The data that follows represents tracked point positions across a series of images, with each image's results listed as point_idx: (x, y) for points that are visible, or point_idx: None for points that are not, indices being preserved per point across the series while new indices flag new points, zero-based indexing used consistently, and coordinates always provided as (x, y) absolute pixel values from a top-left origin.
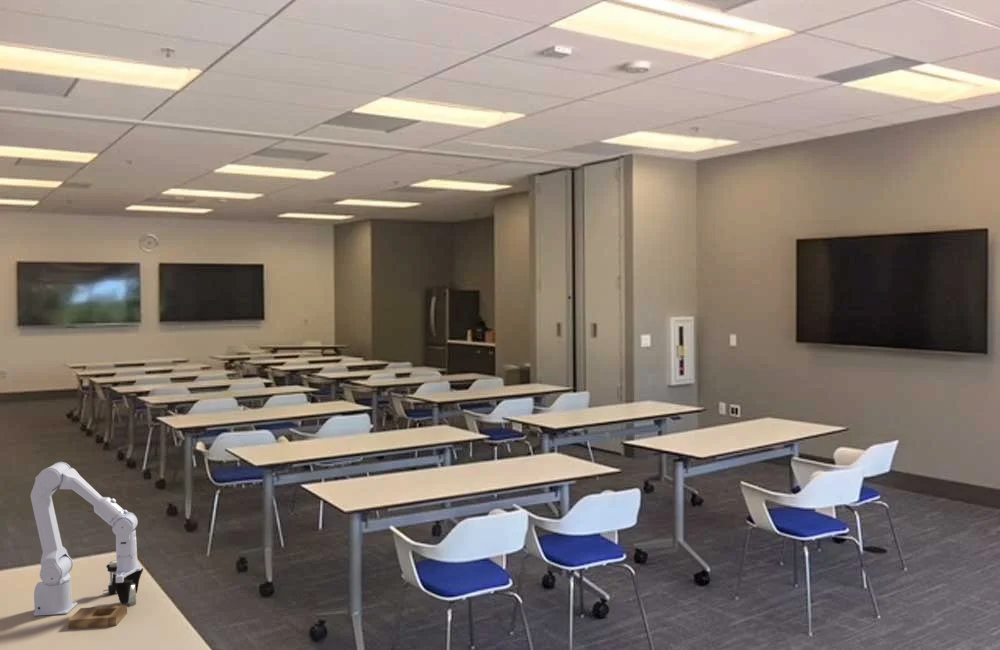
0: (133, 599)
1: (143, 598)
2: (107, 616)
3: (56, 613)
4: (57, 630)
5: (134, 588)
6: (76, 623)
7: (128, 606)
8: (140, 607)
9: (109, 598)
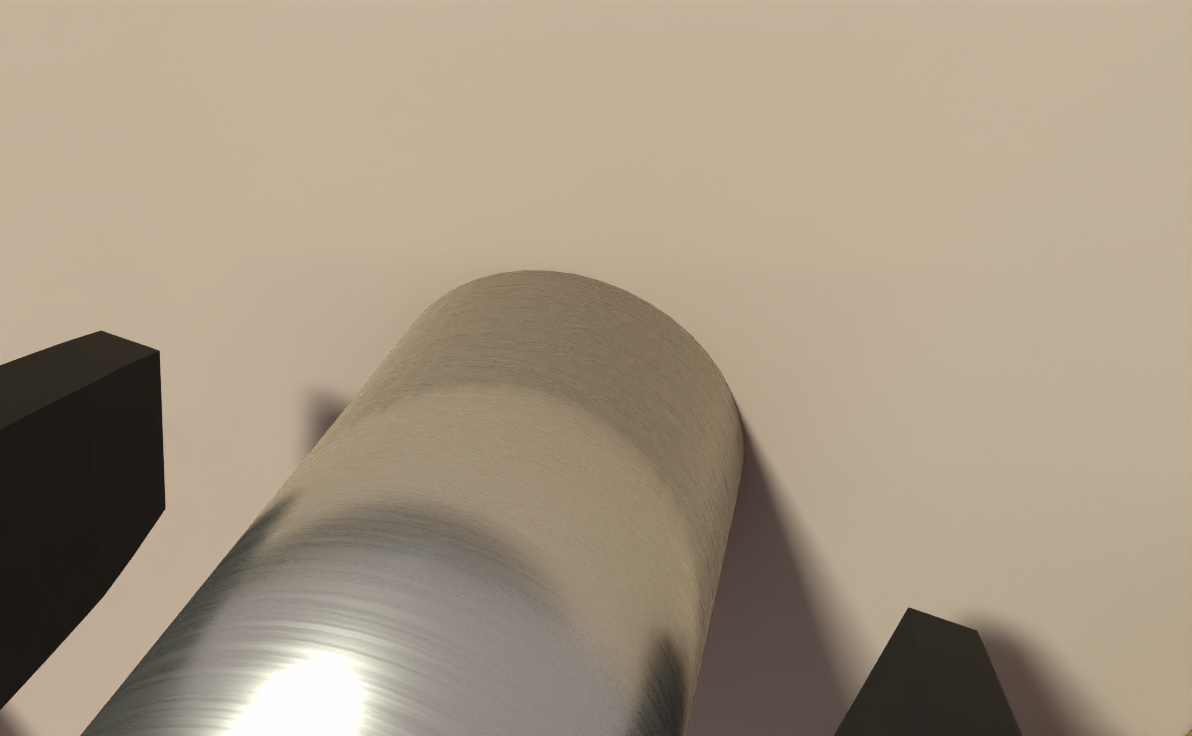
0: (651, 437)
1: (186, 64)
2: None
3: None
4: None
5: (455, 682)
6: None
7: (741, 460)
8: (1022, 152)
9: (84, 685)
